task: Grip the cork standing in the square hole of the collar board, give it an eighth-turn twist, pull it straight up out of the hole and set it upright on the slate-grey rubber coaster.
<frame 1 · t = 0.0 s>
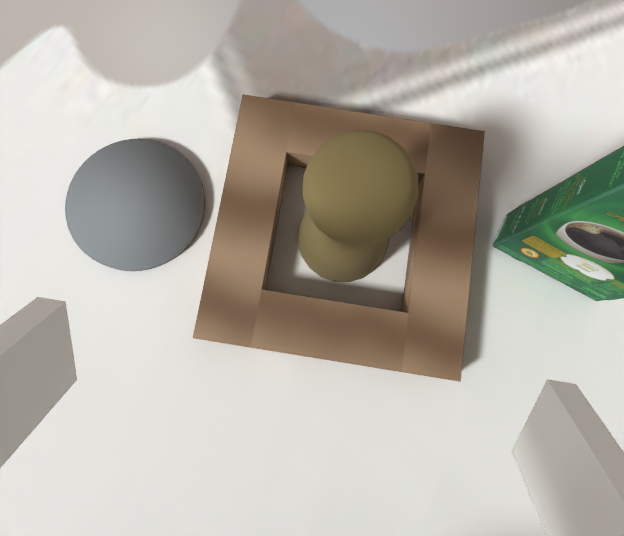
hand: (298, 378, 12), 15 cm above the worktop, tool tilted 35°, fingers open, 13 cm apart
coffee box: (550, 258, 28), on the worktop
coaster: (137, 205, 28), on the worktop
cork: (342, 238, 28), resting in collar board
collar board: (342, 237, 28), on the worktop
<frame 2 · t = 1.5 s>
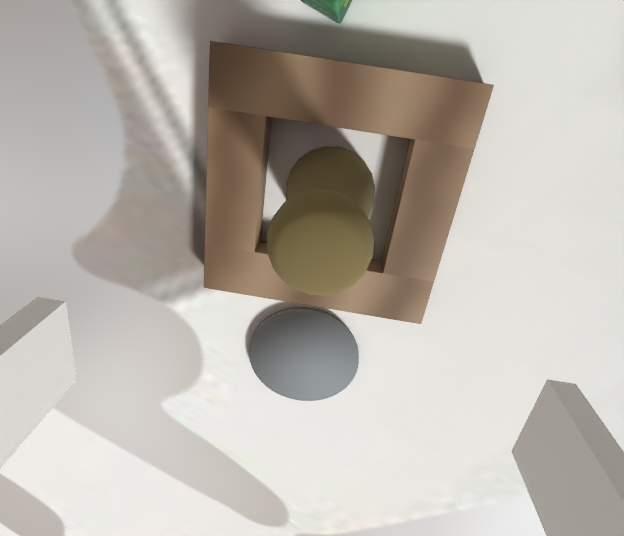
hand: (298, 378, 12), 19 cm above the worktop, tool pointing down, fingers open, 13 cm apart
coaster: (304, 354, 35), on the worktop
cork: (330, 190, 29), resting in collar board
collar board: (330, 191, 29), on the worktop
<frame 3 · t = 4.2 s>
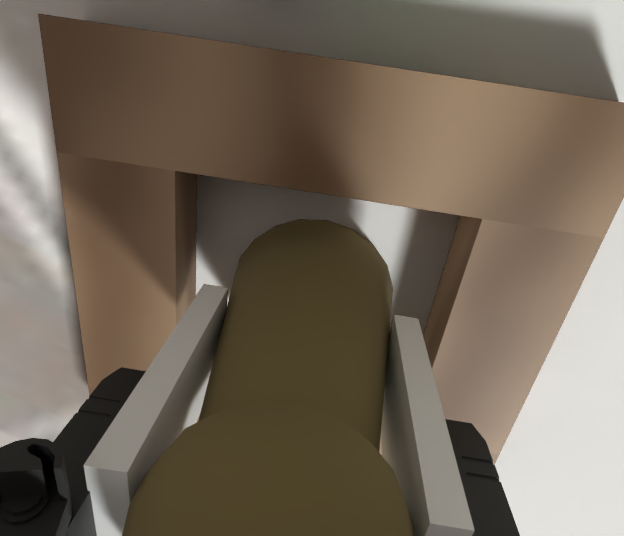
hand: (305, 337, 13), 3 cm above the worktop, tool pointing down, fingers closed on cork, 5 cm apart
cork: (312, 292, 16), resting in collar board, touching gripper
collar board: (312, 294, 16), on the worktop
when the fingers open (5 cm above the worktop, at t = 10.1 s): cork drops 1 cm, resting on coaster.
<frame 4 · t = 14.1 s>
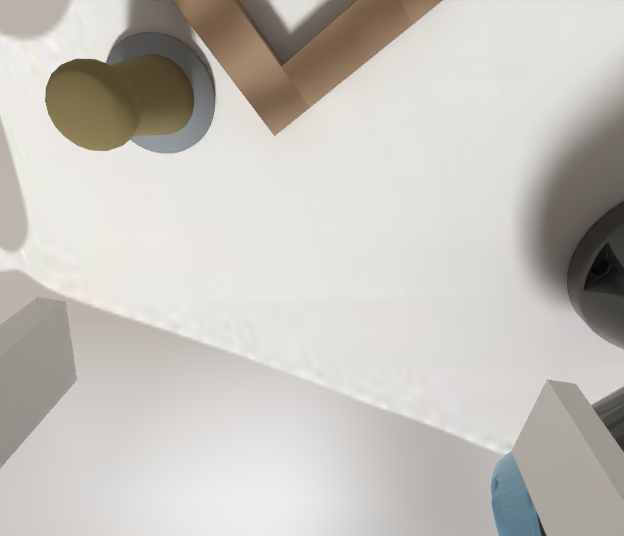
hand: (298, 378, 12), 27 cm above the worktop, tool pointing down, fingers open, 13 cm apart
coaster: (160, 95, 34), on the worktop
cork: (158, 95, 34), resting on coaster
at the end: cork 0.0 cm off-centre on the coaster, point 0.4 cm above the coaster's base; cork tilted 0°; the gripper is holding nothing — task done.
